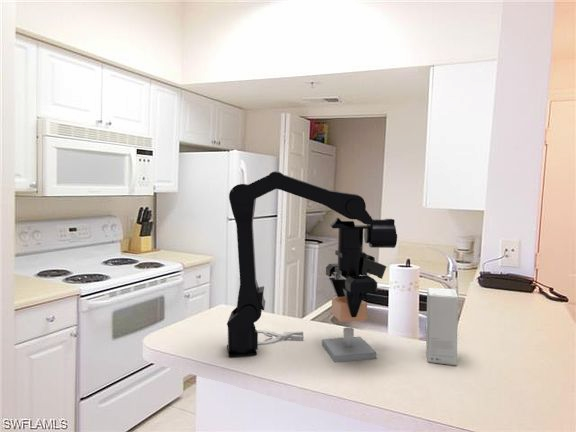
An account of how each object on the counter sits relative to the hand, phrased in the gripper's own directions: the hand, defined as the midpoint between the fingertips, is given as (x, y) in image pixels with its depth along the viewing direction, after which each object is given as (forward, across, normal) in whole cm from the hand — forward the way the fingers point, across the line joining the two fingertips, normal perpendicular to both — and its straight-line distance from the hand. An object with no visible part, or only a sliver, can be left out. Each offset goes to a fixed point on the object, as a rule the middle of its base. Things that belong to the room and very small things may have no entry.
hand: (348, 312), depth 100 cm
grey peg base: (+10, 0, 0) cm, 10 cm away
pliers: (+10, +12, +16) cm, 22 cm away
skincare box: (+10, -7, -20) cm, 23 cm away
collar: (+1, 0, 0) cm, 1 cm away
